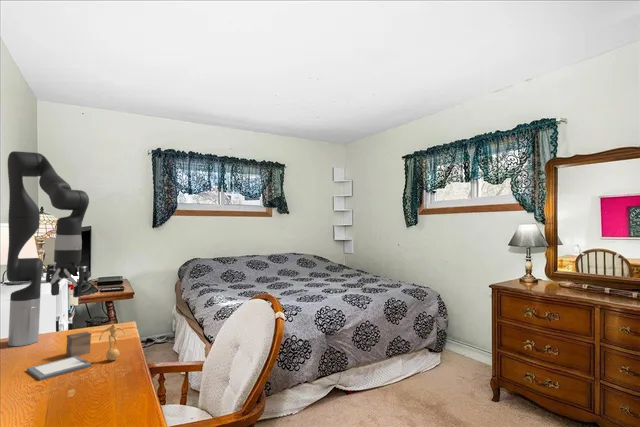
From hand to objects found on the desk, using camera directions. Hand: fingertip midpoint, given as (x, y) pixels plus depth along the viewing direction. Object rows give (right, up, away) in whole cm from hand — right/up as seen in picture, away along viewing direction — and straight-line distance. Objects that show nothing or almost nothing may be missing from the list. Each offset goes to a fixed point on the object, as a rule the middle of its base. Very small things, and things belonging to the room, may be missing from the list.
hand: (66, 296), depth 120 cm
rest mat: (+1, -23, -4) cm, 23 cm away
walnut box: (-2, -23, +9) cm, 25 cm away
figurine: (+13, -23, +4) cm, 27 cm away
